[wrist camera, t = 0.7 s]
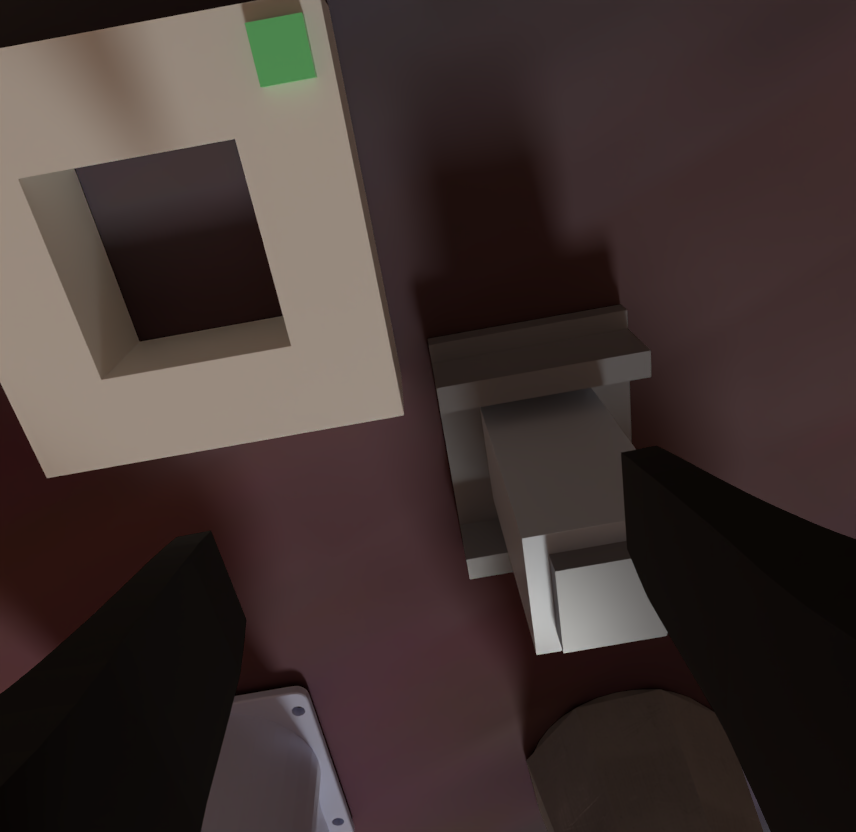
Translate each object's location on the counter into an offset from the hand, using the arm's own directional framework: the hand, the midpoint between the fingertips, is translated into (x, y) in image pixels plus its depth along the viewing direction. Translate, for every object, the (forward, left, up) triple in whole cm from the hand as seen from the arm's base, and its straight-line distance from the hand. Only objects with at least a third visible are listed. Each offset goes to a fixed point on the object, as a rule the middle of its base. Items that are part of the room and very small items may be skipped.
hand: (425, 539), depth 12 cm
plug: (-4, -4, -9) cm, 11 cm away
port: (+4, +5, -10) cm, 12 cm away
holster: (-4, -4, -10) cm, 11 cm away
